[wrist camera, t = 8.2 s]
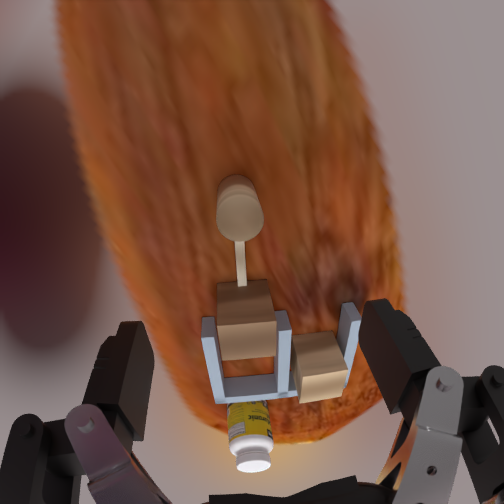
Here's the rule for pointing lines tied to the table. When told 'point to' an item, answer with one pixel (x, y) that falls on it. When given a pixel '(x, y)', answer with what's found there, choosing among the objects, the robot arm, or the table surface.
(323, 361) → the oak block
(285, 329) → the lane shelf
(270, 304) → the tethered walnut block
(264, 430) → the supplement bottle
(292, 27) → the table surface
